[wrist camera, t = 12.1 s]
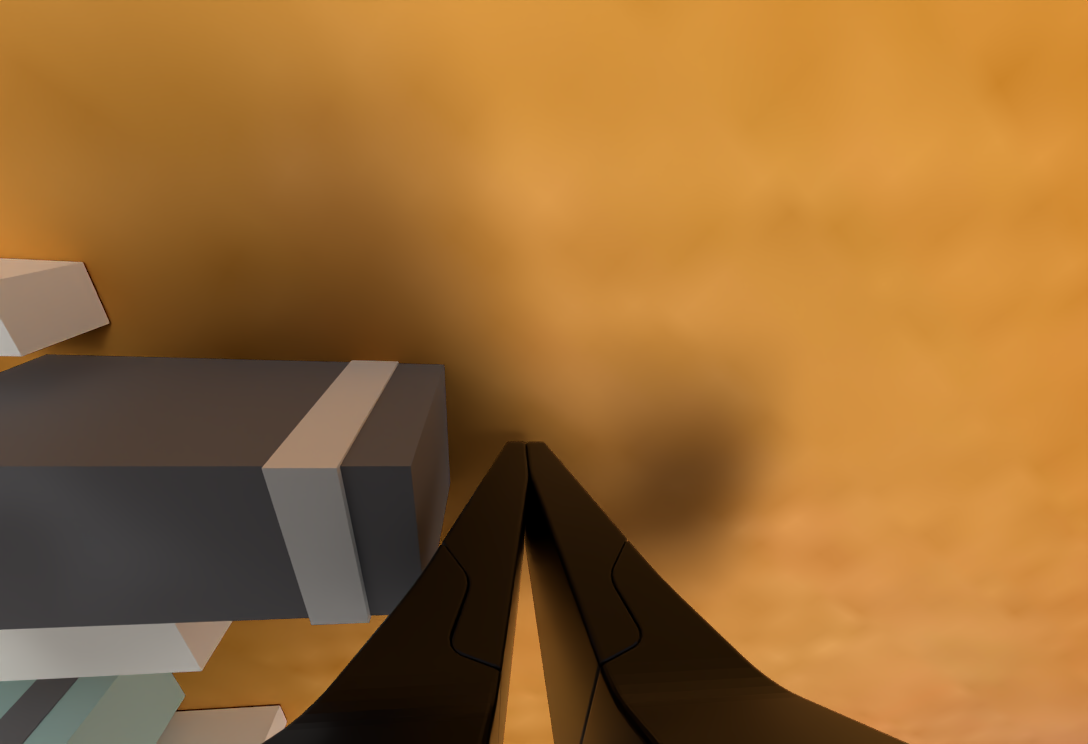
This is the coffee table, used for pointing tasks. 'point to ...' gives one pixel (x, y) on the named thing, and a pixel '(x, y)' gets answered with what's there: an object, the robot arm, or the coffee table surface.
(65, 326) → the slot rack
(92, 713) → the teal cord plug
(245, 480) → the dark grey block
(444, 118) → the coffee table surface
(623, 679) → the robot arm
